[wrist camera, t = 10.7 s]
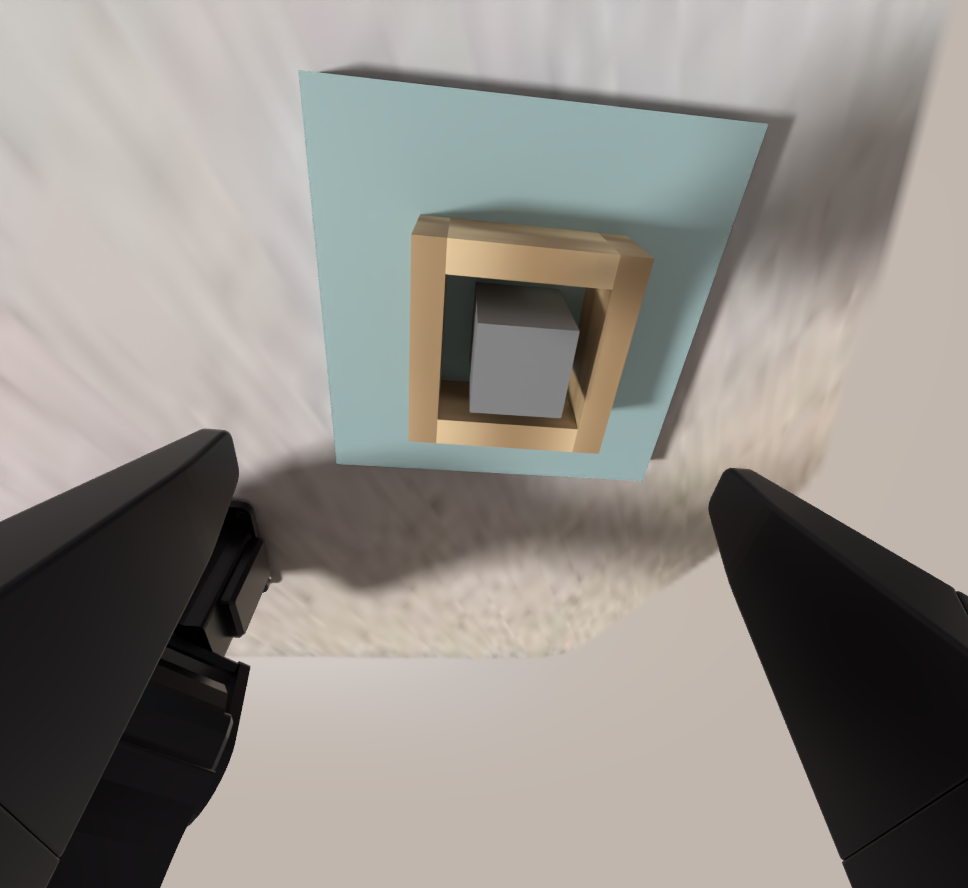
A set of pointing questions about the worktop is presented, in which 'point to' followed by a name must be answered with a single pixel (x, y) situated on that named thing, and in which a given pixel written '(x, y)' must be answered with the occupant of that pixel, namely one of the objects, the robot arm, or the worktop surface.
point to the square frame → (530, 258)
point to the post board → (495, 302)
